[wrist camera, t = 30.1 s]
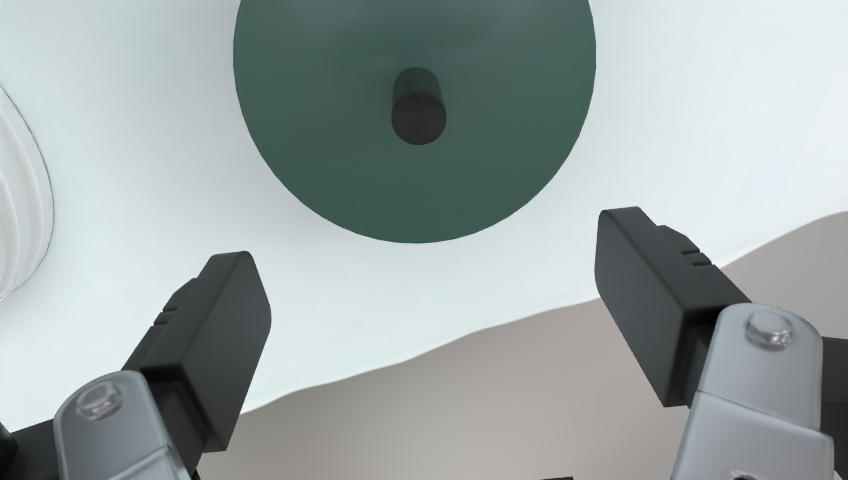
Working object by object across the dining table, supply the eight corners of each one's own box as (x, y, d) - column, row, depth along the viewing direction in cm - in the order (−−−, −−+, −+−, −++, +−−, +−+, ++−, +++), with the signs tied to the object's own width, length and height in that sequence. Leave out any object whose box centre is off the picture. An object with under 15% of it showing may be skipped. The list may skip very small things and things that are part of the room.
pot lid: (291, 250, 31) (268, 311, 26) (184, -99, 21) (112, -117, 16) (580, 216, 30) (617, 271, 25) (601, -159, 21) (667, -198, 16)
